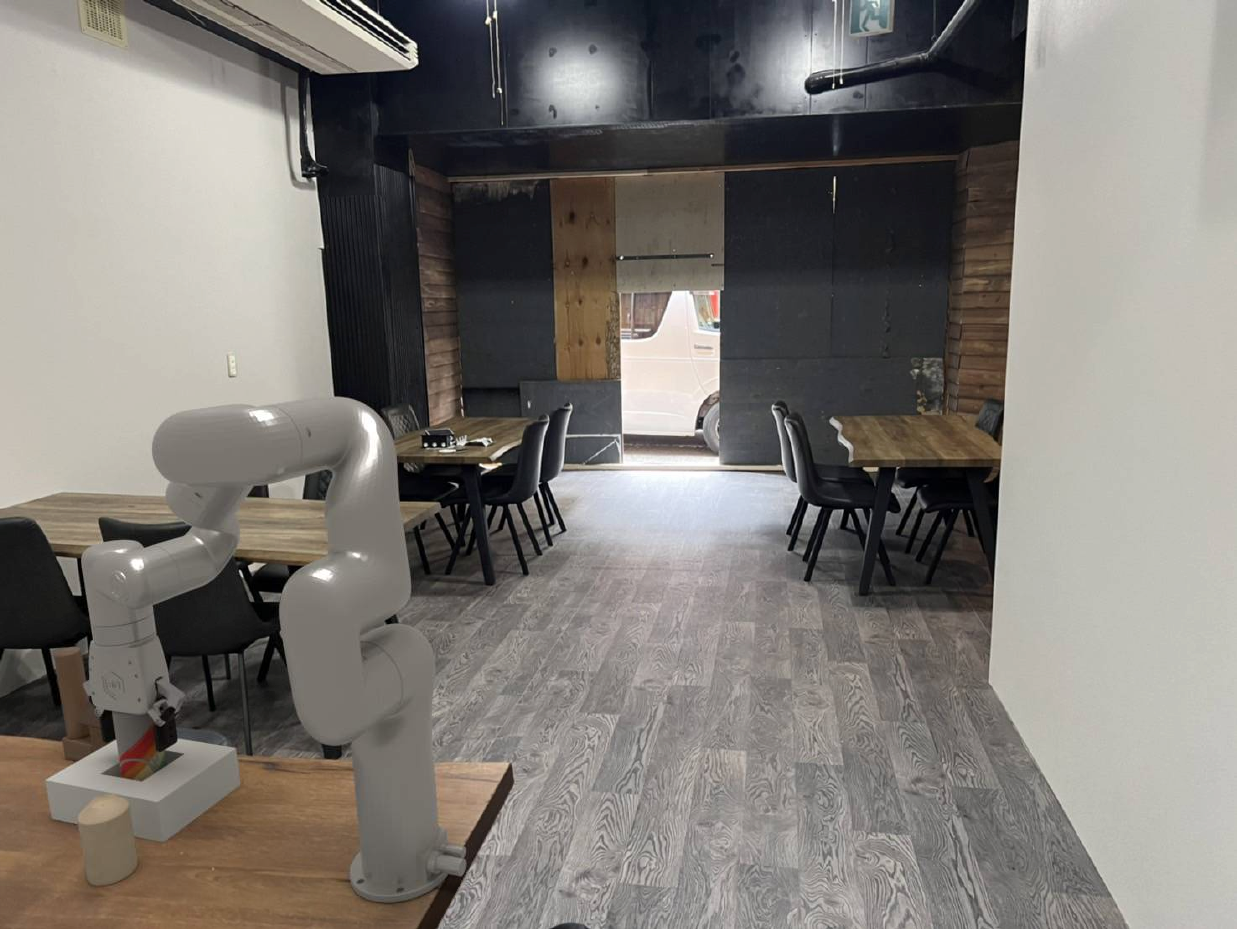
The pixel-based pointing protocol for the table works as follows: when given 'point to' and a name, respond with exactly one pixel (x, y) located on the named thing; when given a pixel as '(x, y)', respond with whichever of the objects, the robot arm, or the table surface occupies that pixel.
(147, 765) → the lotion bottle
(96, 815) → the candle
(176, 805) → the bottle caddy
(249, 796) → the table surface
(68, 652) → the brown block with handle
